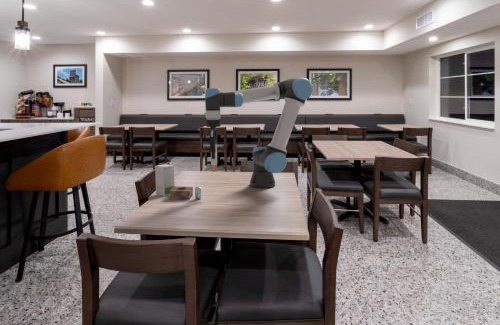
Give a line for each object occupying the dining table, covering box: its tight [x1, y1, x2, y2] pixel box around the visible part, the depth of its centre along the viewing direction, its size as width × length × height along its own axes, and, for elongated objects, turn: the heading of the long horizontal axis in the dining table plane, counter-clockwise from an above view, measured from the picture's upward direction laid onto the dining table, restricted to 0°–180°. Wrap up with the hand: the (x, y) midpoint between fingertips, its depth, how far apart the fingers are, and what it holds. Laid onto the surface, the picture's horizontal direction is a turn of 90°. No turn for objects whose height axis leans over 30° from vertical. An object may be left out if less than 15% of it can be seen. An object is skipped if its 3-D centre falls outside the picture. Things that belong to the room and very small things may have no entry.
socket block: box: [169, 185, 194, 201], centre depth 189 cm, size 10×10×4 cm
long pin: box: [210, 144, 218, 173], centre depth 191 cm, size 3×3×14 cm
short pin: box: [194, 186, 202, 201], centre depth 186 cm, size 3×3×6 cm
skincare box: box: [154, 163, 175, 197], centre depth 194 cm, size 8×7×16 cm
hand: (214, 164), depth 191 cm, fingers closed on long pin, 3 cm apart
